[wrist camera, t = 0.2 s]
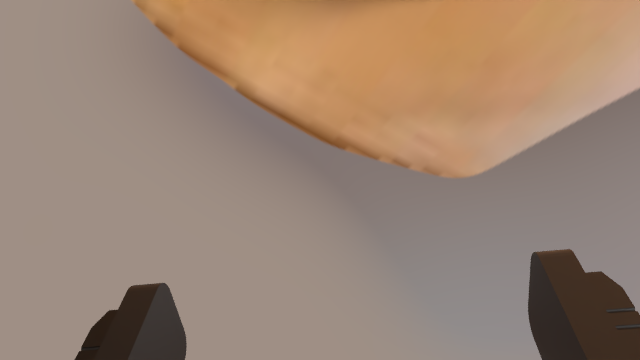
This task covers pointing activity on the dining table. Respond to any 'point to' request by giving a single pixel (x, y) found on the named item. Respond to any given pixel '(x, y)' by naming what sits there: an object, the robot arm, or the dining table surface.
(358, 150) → the dining table surface
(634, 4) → the dining table surface
